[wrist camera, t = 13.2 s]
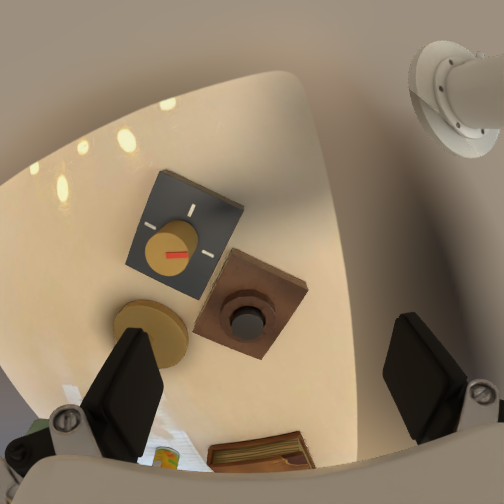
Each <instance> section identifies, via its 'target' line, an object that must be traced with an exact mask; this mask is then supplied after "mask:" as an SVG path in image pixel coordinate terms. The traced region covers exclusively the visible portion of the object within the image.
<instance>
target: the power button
mask: <svg viewBox="0 0 504 504" xmlns="http://www.w3.org/2000/svg"><path fill="white" fill-rule="evenodd" d="M263 327H264V326H263V316H262V314H261V312H260V311H259V310H258V309H256V308H254V307H250V306H245V307H241V308H239V309H237V310H236V311H235V312H234V314H233V317H232V325H231V328H232V331H233V333H234V334H235V335H236V336H237V337H238V338H240V339H243V340H252V339H255V338H257V337H259V336H260V335H261V333H262V332H263Z"/></svg>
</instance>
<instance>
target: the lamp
mask: <svg viewBox="0 0 504 504" xmlns="http://www.w3.org/2000/svg"><path fill="white" fill-rule="evenodd" d="M128 327H132V328H142V329H143V331H144V332H147V333H148V336H149V339H150V343H151V346H152V349H153V353H154V356H155V359H156V362H157V366H158V368H168V367H171V366H174V365H175V364H177V363H178V362H180V361H181V360H182V358H183V357H184V355H185V352H186V349H187V346H188V333H187V330H186V327H185V325H184V324H183V322H182V320H181V319H180V318H179V317H178V316H177V315H176V314H175V313H174V312H173V311H172V310H170V309H169V308H167V307H166V306H164V305H162V304H159V303H157V302H153V301H148V300H138V301H134V302H131V303H129V304H127V305H126V306H124V307H123V308H122V310H121V311H120V312H119V314H118V315H117V317H116V318H115V321H114V327H113V330H114V335H115V339H116V341H117V342H118V340H119V339H120V337H121V336H122V334H123V333H124V331H125V329H126V328H128ZM47 427H49V419H37V420H35V421H34V422H33V423H32V425H31V427H30V428H29V430H28V431H27V433H26V435H28V434H31V433H34V432H36V431H39V430H42V429H44V428H47ZM26 435H25V436H26ZM136 464H139V463H136Z"/></svg>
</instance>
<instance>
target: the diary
mask: <svg viewBox="0 0 504 504" xmlns="http://www.w3.org/2000/svg"><path fill="white" fill-rule="evenodd" d="M207 465H208V466H209V467H210V468H211V469H212V470H213V471H214V472H215V473H270V472H286V471H298V470H307V469H315V468H316V467H315V465H314V463H313V461H312V458H311V456H310V454H309V452H308V450H307V447H306V445H305V443H304V440H303V438H302V436H301V434H300V432H296V433H291V434H286V435H282V436H277V437H271V438H266V439H260V440H254V441H248V442H241V443H233V444H225V445H216V446H212V447H210V448H209V449H208V455H207Z"/></svg>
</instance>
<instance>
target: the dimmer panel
mask: <svg viewBox="0 0 504 504" xmlns="http://www.w3.org/2000/svg"><path fill="white" fill-rule="evenodd" d="M243 211H244V206H242V205H240V204H238V203H236V202H234V201H232V200H230V199H228V198H226V197H224V196H222V195H220V194H217V193H215V192H213V191H211V190H209V189H207V188H205V187H203V186H201V185H199V184H196V183H194V182H192V181H190V180H188V179H186V178H184V177H181V176H179V175H177V174H175V173H173V172H171V171H168V170H163V171H160V172H159V174H158V176H157V179H156V181H155V184H154V186H153V188H152V191H151V193H150V196H149V198H148V201H147V204H146V206H145V209H144V211H143V214H142V217H141V219H140V222H139V225H138V228H137V231H136V233H135V236H134V239H133V242H132V245H131V248H130V251H129V254H128V257H127V260H126V263H125V264H126V265H127V266H129V267H131V268H133V269H135V270H137V271H139V272H141V273H143V274H145V275H147V276H149V277H151V278H153V279H155V280H157V281H159V282H161V283H163V284H165V285H167V286H169V287H172V288H174V289H176V290H178V291H180V292H182V293H184V294H186V295H188V296H191V297H193V298H195V299H197V300H199V299H200V297H201V295H202V293H203V291H204V289H205V287H206V285H207V283H208V281H209V279H210V277H211V275H212V273H213V271H214V269H215V267H216V265H217V263H218V261H219V259H220V257H221V255H222V253H223V251H224V249H225V247H226V245H227V243H228V241H229V239H230V237H231V235H232V233H233V231H234V229H235V227H236V225H237V223H238V221H239V219H240V217H241V215H242V213H243ZM174 220H182V221H185V222H187V223H189V224H190V225H191V226H192V227H193V228H194V229H195V231H196V233H197V236H198V245H197V248H196V250H195V252H194V254H193V255H192V257H191V259H190V261H189V263H188V264H187V266H186V268H185V269H184V270H183V271H182V272H181V273H179V274H177V275H174V276H164V275H161V274H159V273H157V272H156V271H154V270H153V269H152V268H151V267H150V265H149V264H148V262H147V259H146V256H145V248H146V245H147V242H148V241H149V239H150V238H151V237H152V236H153V235H155V234H156V233H157V232H158V231H159V230H160V229H161V228H162V227H164V226H165V225H166V224H167V223H169V222H171V221H174Z"/></svg>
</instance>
